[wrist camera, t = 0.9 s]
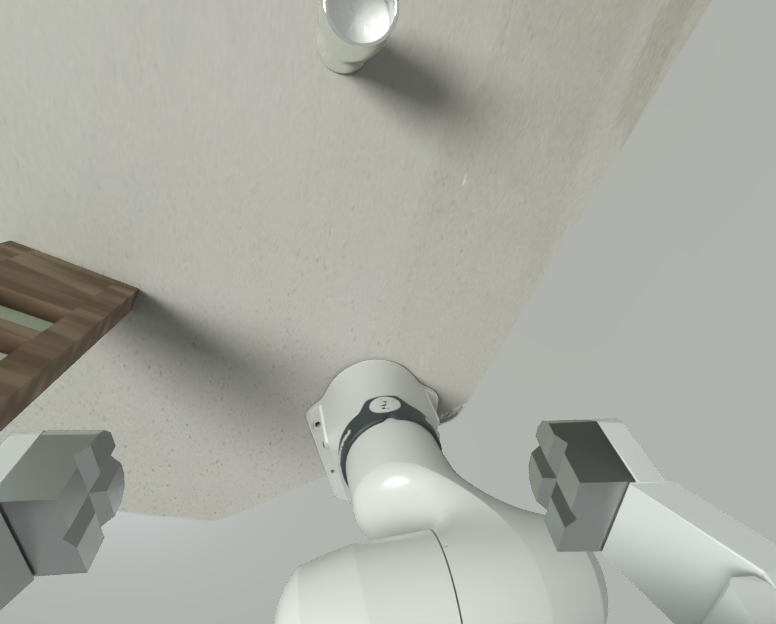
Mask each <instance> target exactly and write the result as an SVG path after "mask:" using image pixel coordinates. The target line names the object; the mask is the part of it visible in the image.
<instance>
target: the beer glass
mask: <svg viewBox="0 0 776 624" xmlns="http://www.w3.org/2000/svg"><path fill="white" fill-rule="evenodd" d="M398 14H399V0H320V3H319V7H318V27H319V31H318V34H317V40H316V44H317V50H318V54H319V56H320V58H321V60H322V61H323V63H324V64H325V65H326V66H327V67H328V68H329V69H331V70H332V71H335V72H337V73H341V74H349V73H353V72H355V71H357V70H359V69H360V68H361V67H362V66H363V65H364V63H365V62H366V60H367V59H370V58H371V57H373V56H374V55H376V54H377V53H378V52H379V51H380V50H381V49H382V48H383V46H384V45H385V44H386V42H387V41H388V39H389V37H390V35H391V33H392V31H393V29H394V27H395V25H396V22H397V19H398Z"/></svg>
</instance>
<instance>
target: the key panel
mask: <svg viewBox="0 0 776 624" xmlns="http://www.w3.org/2000/svg"><path fill="white" fill-rule="evenodd" d="M138 290H139V289H138V288H135V287H132V286H130V285H127V284H124V283H122V282H119V281H116V280H114V279H111V278H108V277H106V276H103V275H100V274H98V273H95V272H92V271H90V270H87V269H84V268H82V267H79V266H76V265H74V264H71V263H69V262H66V261H63V260H61V259H58V258H55V257H53V256H50V255H47V254H45V253H42V252H39V251H37V250H34V249H31V248H29V247H26V246H23V245H21V244H18V243H15V242H13V241H7V242H4V243H0V305H1V306H4V307H7V308H10V309H13V310H16V311H19V312H22V313H24V314H27V315H30V316H33V317H36V318H39V319H42V320H45V321H48V322H51V323H54V324H53V325H52V326H50V327H49V328H47V329H46V330H44V331H43V332H41V331H38V330H35V329H32V328H29V327H26V326H23V325H20V324H17V323H14V322H11V321H8V320H5V319H2V318H0V352H1V353H4V354H7V356H6V357H5V358H3V359H2V360H0V431H2V430H3V429H4V428H5V427H6V426H7V425H8V424H9V423H10V422H11V421H12V420H13V419H14V418H16V417H17V416H18V415H19V414H20V413H21V412H22V411H23V410H24V409H25V408H26V407H27V406H28V405H30V404H31V403H32V402H33V401H34V400H35V399H36V398H37V397H38V396H39V395H40V394H41V393H42V392H44V391H45V390H46V389H47V388H48V387H49V386H50V385H51V384H52V383H53V382H54V381H55V380H56V379H58V378H59V377H60V376H61V375H62V374H63V373H64V372H65V371H66V370H67V369H68V368H69V367H70V366H72V365H73V364H74V363H75V362H76V361H77V360H78V359H79V358H80V357H81V356H82V355H83V354H84V353H86V352H87V351H88V350H89V349H90V348H91V347H92V346H93V345H94V344H95V343H96V342H97V341H98V340H100V339H101V338H102V337H103V336H104V335H105V334H106V333H107V332H108V331H109V330H110V329H111V328H112V327H114V326H115V325H116V324H117V323H118V322H119V321H120V320H121V319H122V318H123V317H124V316H125V315H126V314H128V313H129V312H130V310H131V308H132V305H133V303H134V300H135V297H136V295H137V292H138Z"/></svg>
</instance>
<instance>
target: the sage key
mask: <svg viewBox="0 0 776 624" xmlns="http://www.w3.org/2000/svg"><path fill="white" fill-rule="evenodd" d="M0 318H2V319H5V320H8V321H11V322H14V323H17V324H20V325H23V326H26V327H29V328H32V329H35V330H38V331H41V332H43V331H44V330H46V329H47V328H49V327H50V326H52V325H53V324H54V323H51V322H48V321H45V320H42V319H39V318H36V317H33V316H30V315H27V314H24V313H22V312H19V311H16V310H13V309H10V308H7V307H4V306H1V305H0Z"/></svg>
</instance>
